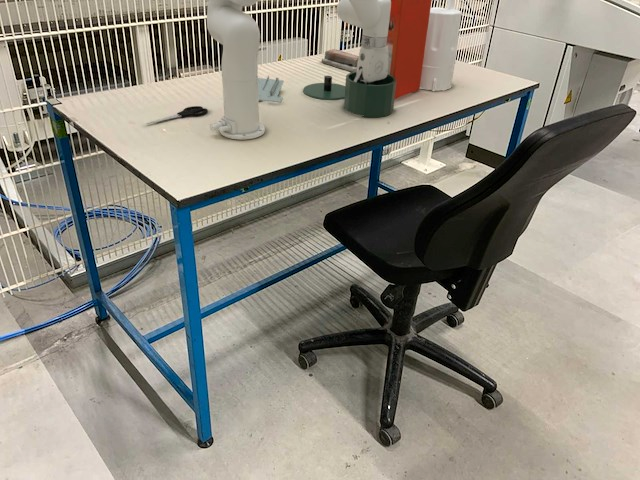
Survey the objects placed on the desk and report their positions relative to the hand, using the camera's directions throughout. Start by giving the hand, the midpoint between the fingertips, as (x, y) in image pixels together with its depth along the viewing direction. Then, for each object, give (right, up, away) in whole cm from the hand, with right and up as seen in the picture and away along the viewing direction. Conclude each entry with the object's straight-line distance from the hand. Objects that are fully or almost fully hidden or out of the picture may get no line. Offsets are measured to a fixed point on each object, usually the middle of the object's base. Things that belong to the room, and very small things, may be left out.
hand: (368, 100), depth 165 cm
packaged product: (-5, +25, +43) cm, 50 cm away
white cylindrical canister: (+26, +13, +27) cm, 39 cm away
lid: (-13, +6, +13) cm, 19 cm away
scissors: (-58, -8, -11) cm, 60 cm away
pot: (0, -2, +2) cm, 3 cm away
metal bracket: (-34, +4, +8) cm, 36 cm away
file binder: (+11, +7, +16) cm, 21 cm away
